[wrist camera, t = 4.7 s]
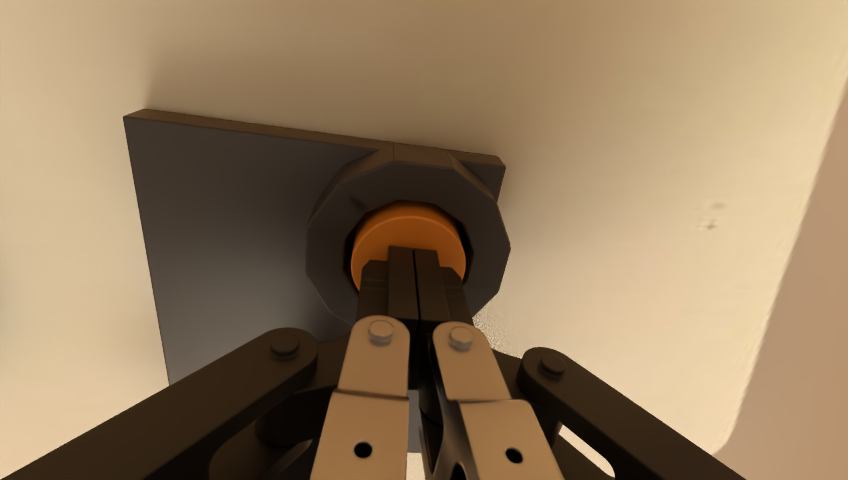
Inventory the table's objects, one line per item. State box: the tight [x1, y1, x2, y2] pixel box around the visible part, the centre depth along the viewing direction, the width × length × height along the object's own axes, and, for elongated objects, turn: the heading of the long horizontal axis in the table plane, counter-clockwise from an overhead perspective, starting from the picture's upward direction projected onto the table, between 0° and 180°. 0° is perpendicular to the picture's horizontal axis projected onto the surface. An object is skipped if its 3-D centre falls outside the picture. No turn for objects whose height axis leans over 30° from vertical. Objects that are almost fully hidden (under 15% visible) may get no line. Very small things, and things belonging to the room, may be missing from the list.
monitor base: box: [123, 109, 511, 453], centre depth 16 cm, size 15×12×3 cm
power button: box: [351, 200, 466, 290], centre depth 14 cm, size 4×4×2 cm
